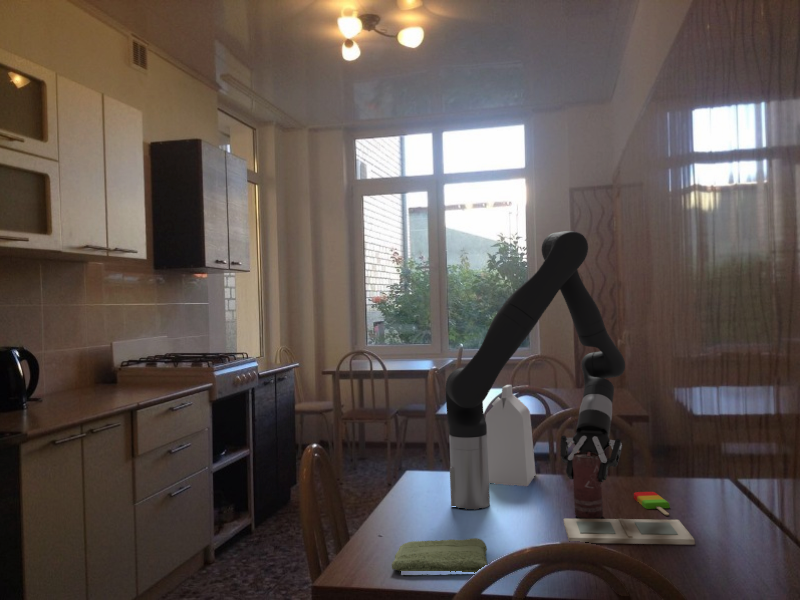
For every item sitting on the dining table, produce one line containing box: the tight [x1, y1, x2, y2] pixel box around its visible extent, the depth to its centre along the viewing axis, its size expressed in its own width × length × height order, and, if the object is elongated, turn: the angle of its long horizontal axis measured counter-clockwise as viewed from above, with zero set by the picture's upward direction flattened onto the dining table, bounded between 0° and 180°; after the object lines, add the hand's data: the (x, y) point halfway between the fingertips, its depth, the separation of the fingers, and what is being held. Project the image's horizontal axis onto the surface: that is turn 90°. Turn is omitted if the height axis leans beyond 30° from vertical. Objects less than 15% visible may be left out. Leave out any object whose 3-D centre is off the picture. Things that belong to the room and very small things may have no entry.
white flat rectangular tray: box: [563, 518, 696, 545], centre depth 135 cm, size 24×12×1 cm, turn 81°
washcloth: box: [391, 537, 488, 573], centre depth 124 cm, size 13×18×3 cm
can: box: [572, 452, 604, 519], centre depth 147 cm, size 6×6×14 cm
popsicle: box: [633, 491, 670, 516], centre depth 153 cm, size 6×15×2 cm, turn 179°
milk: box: [484, 384, 537, 487], centre depth 182 cm, size 12×12×26 cm
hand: (585, 478), depth 146 cm, fingers closed on can, 6 cm apart
